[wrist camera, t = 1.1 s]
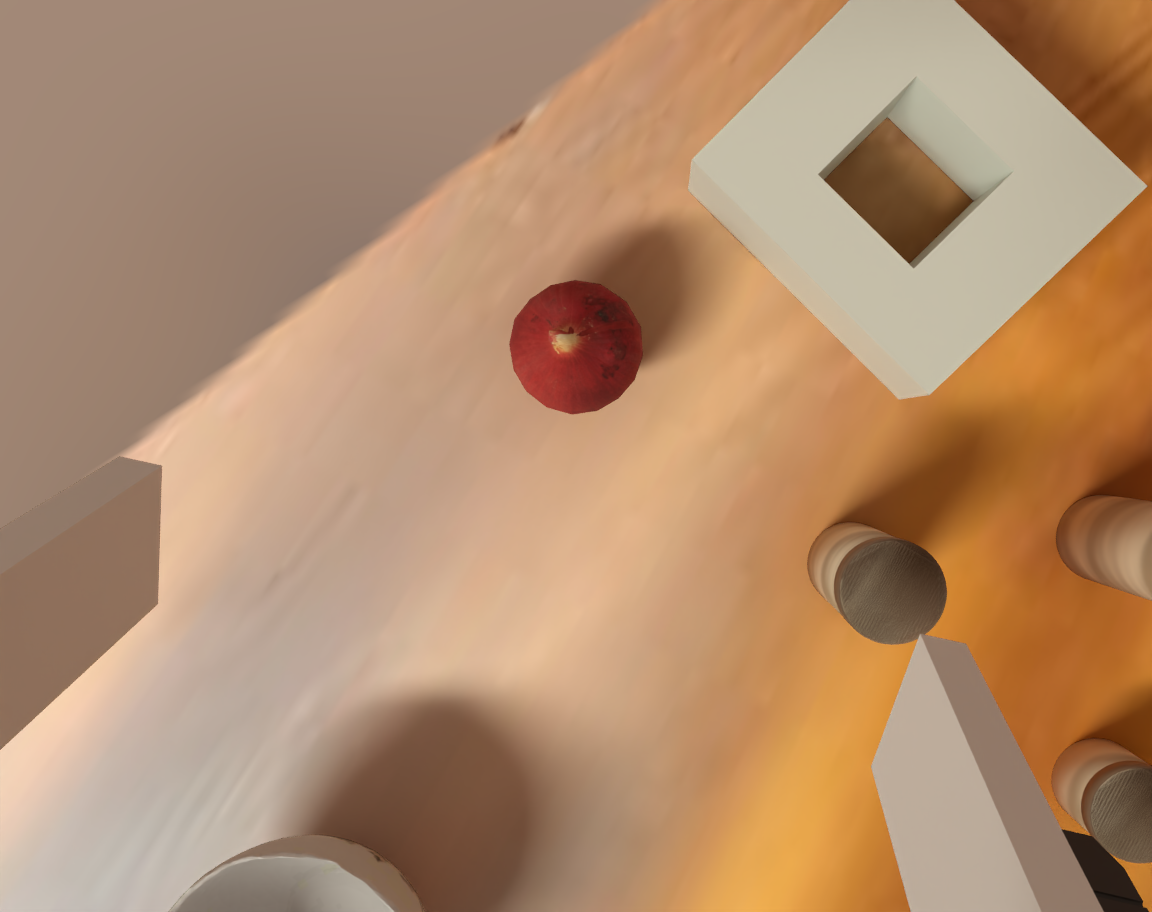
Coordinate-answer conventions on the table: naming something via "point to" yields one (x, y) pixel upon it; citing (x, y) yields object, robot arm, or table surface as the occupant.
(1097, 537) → the long dowel
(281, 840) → the teacup
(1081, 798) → the short dowel
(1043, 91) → the hole block
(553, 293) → the onion
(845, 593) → the medium dowel
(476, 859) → the table surface
